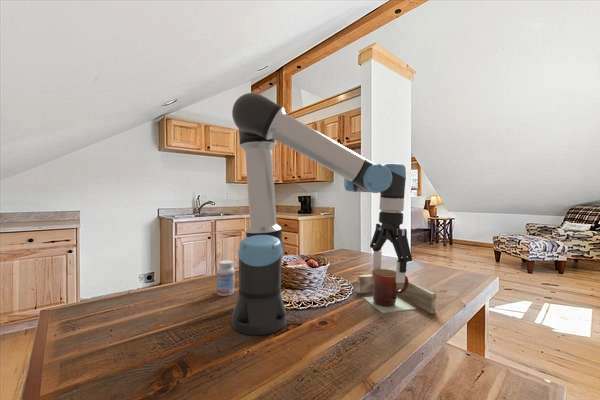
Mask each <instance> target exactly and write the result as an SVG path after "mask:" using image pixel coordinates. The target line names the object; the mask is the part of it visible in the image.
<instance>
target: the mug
mask: <svg viewBox="0 0 600 400" xmlns="http://www.w3.org/2000/svg"><path fill="white" fill-rule="evenodd" d="M370 272H371V275H372V276H373V292H372V297H373V301H374V302H375V303H376V304H378V305H380V306H385V307H390V306H393V305H394V304H395V302H396V298H397V297H398V296H397V295H400V294H401V293H403V292H404V291H405V290H406V289H407V287H408V280H409V278H408V276H407V275H405V284H404V286H403V288H402V289H400V290H397V289H396V285H397V283H396V270H393V269H388V268H381V269H374V270H373V269H372V270H371V271H370ZM396 296H397V297H396Z"/></svg>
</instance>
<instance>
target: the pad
mask: <svg viewBox="0 0 600 400" xmlns="http://www.w3.org/2000/svg"><path fill="white" fill-rule="evenodd" d="M396 297H397V298H396V302H395V304H394V305H393V306H390V307H385V306H380V305H378V304H376V303H375V302H374V301H373V296H366V297H365V296H363V297H362V298H363V300H365V301H366V302H367V303H369V304H370V305H371V306H372V307H373V308H375V309H376V310H378V312H380V313H381V314H386V313H387V314H388V313H395V312H397V313H398V312H405V311H414V310H417V307H416V308H415V307H414V306H412V305H411V304H410V303H408V302H406V301H404V299H401V298H400V297H399V296H397V295H396Z"/></svg>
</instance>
